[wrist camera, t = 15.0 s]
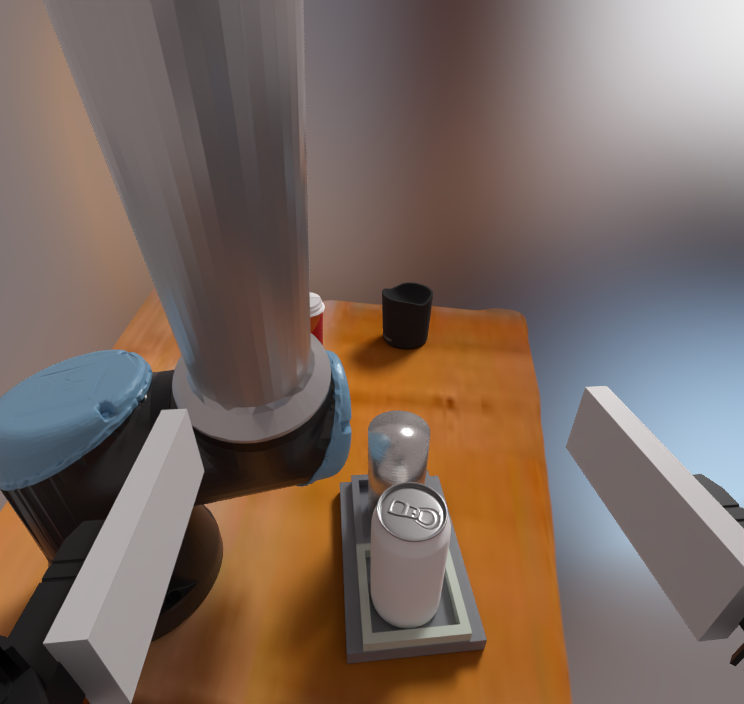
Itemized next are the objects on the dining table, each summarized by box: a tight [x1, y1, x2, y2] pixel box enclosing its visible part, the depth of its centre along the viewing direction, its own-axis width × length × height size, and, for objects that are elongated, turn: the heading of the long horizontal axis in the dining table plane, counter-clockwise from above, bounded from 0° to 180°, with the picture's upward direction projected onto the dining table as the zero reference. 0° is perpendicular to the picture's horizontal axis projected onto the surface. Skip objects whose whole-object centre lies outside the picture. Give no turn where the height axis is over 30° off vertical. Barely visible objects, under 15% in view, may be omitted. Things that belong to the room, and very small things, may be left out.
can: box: [371, 482, 451, 629], centre depth 37 cm, size 6×6×12 cm
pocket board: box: [340, 470, 487, 664], centre depth 44 cm, size 12×18×3 cm, turn 6°
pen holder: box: [382, 283, 433, 349], centre depth 82 cm, size 9×9×10 cm
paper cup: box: [310, 293, 325, 346], centre depth 70 cm, size 8×8×14 cm
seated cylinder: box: [368, 411, 430, 521], centre depth 45 cm, size 6×6×12 cm
